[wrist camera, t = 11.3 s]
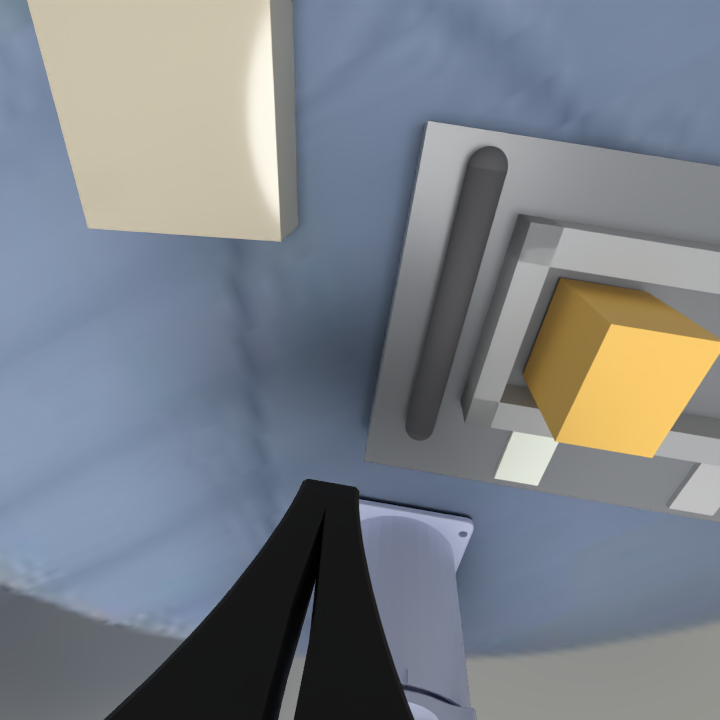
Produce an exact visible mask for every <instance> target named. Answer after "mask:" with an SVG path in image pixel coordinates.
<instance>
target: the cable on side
mask: <svg viewBox="0 0 720 720" xmlns="http://www.w3.org/2000/svg"><path fill="white" fill-rule="evenodd" d="M507 171H508V160H507V157H506V155H505V153H504V152H503V151H502V150H501V149H499V148H497V147H494V146H486V147H483V148H480V149H479V150H477V151H476V152H475V153H474V154H473V155H472V156H471V158H470V160H469V162H468V165H467V169H466V173H465V178H464V182H463V186H462V190H461V194H460V198H459V203H458V207H457V211H456V215H455V219H454V223H453V228H452V232H451V236H450V240H449V244H448V248H447V253H446V257H445V261H444V265H443V269H442V273H441V278H440V282H439V286H438V290H437V294H436V298H435V303H434V307H433V311H432V315H431V319H430V323H429V328H428V332H427V336H426V340H425V344H424V348H423V353H422V357H421V361H420V365H419V369H418V373H417V378H416V382H415V386H414V390H413V394H412V398H411V403H410V407H409V411H408V415H407V419H406V424H405V429H406V432H407V434H408V435H409V437H410V438H412V439H414V440H416V441H423V440H426V439H428V438H429V437H430V436H431V435H432V433H433V430H434V427H435V423H436V420H437V416H438V413H439V409H440V406H441V402H442V399H443V395H444V392H445V388H446V385H447V381H448V378H449V374H450V371H451V367H452V364H453V360H454V357H455V353H456V350H457V346H458V343H459V339H460V336H461V332H462V329H463V325H464V322H465V318H466V315H467V311H468V308H469V304H470V301H471V297H472V294H473V290H474V287H475V283H476V280H477V276H478V273H479V269H480V266H481V262H482V259H483V255H484V252H485V248H486V245H487V241H488V238H489V234H490V231H491V227H492V224H493V220H494V217H495V213H496V210H497V206H498V203H499V199H500V196H501V192H502V189H503V185H504V182H505V178H506V175H507Z"/></svg>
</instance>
